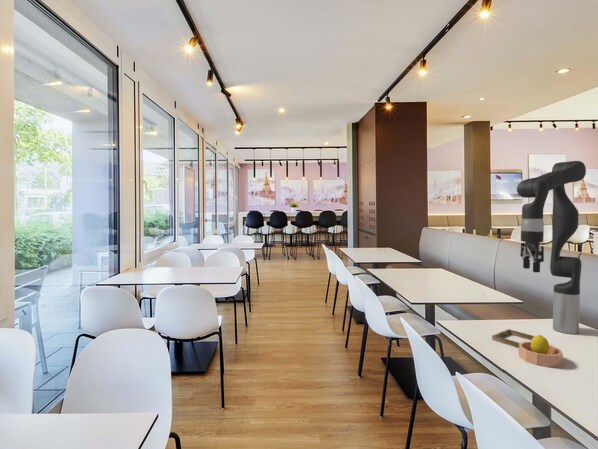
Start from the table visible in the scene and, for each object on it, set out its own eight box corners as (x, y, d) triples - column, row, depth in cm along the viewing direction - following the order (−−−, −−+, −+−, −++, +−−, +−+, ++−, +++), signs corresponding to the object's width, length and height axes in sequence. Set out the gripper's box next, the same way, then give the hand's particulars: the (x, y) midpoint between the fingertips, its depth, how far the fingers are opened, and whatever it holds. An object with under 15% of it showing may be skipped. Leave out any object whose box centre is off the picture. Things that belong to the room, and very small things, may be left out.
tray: (508, 333, 150) (508, 329, 150) (543, 343, 139) (543, 338, 139) (492, 339, 143) (492, 335, 143) (528, 350, 131) (528, 346, 131)
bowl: (528, 349, 133) (528, 339, 133) (567, 361, 122) (567, 350, 122) (512, 357, 126) (512, 346, 126) (552, 370, 115) (552, 358, 115)
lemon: (551, 360, 121) (552, 338, 121) (534, 359, 122) (535, 337, 122) (544, 354, 126) (544, 332, 126) (527, 352, 128) (528, 331, 127)
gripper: (514, 228, 144) (513, 267, 144) (529, 231, 130) (528, 273, 130) (534, 228, 142) (533, 267, 143) (552, 231, 128) (551, 273, 129)
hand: (531, 270), depth 137 cm, fingers open, 8 cm apart
